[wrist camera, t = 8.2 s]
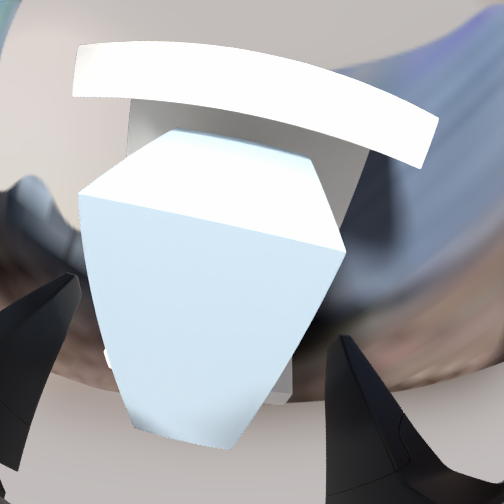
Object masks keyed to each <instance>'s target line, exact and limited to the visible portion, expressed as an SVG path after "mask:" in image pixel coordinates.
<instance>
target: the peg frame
mask: <svg viewBox="0 0 504 504" xmlns="http://www.w3.org/2000/svg"><path fill="white" fill-rule="evenodd" d="M72 97H116V98H131V106H130V115H129V126H128V138H127V155H126V158H127V157H129V156H130V155H132V154H133V153H135V152H136V151H138V150H139V149H141V148H143V147H144V146H146V145H147V144H149V143H150V142H152V141H154V140H155V139H157V138H159V137H160V136H162V135H164V134H165V133H167V132H169V131H170V130H172V129H174V128H176V127H178V128H185V129H191V130H197V131H203V132H209V133H214V134H219V135H225V136H230V137H235V138H239V139H244V140H249V141H253V142H258V143H262V144H266V145H270V146H274V147H278V148H282V149H286V150H290V151H294V152H298V153H301V154H305V155H308V156H309V157H310V159H311V162H312V164H313V166H314V169H315V171H316V174H317V176H318V178H319V181H320V183H321V186H322V188H323V191H324V193H325V196H326V198H327V201H328V203H329V206H330V208H331V211H332V214H333V216H334V219H335V222H336V224H337V227H338V230H339V229H340V227H341V224H342V222H343V219H344V217H345V214H346V212H347V209H348V207H349V204H350V202H351V199H352V197H353V194H354V192H355V189H356V186H357V184H358V181H359V178H360V176H361V173H362V170H363V168H364V165H365V162H366V159H367V157H368V154H369V151H370V149H372V150H374V151H377V152H380V153H382V154H385V155H387V156H390V157H392V158H395V159H397V160H400V161H402V162H405V163H407V164H409V165H412V166H414V167H416V168H419V169H421V167H422V164H423V162H424V159H425V157H426V154H427V151H428V149H429V146H430V143H431V141H432V138H433V135H434V132H435V129H436V126H437V123H438V120H439V118H437V117H436V116H434V115H432V114H430V113H428V112H426V111H425V110H423V109H421V108H419V107H417V106H415V105H413V104H411V103H409V102H407V101H404V100H402V99H400V98H398V97H396V96H394V95H391V94H389V93H387V92H385V91H382V90H380V89H378V88H375V87H373V86H370V85H368V84H365V83H363V82H360V81H357V80H355V79H352V78H349V77H346V76H344V75H341V74H338V73H335V72H332V71H329V70H325V69H322V68H319V67H316V66H312V65H309V64H305V63H301V62H298V61H294V60H290V59H286V58H281V57H278V56H273V55H268V54H263V53H259V52H253V51H248V50H242V49H236V48H229V47H222V46H214V45H206V44H195V43H182V42H160V41H128V42H107V43H95V44H86V45H78V49H77V55H76V62H75V70H74V79H73V89H72ZM104 355H105V358H106V361H107V363H108V366H109V368H111V365H110V361H109V358H108V355H107V352H106V348H105V350H104ZM292 394H293V392H292V357H291V358H290V360H289V362H288V363H287V365H286V367H285V368H284V370H283V372H282V373H281V375H280V377H279V378H278V380H277V382H276V383H275V385H274V386H273V388H272V390H271V391H270V393H269V394H268V396H267V398H266V399H265V401H264V402H263V404H269V405H278V406H284V405H285V403H286V402H287V401H288V399H289V398H290V397H291V395H292Z"/></svg>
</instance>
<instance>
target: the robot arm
mask: <svg viewBox="0 0 504 504" xmlns="http://www.w3.org/2000/svg"><path fill="white" fill-rule="evenodd" d="M80 299H81V289H80V284H79V280H78V277H77V276H76V275H74V274H71V273H65V274H63V275H61V276H59V277H57V278H56V279H54V280H52V281H50V282H49V283H47V284H45V285H43V286H42V287H40V288H38V289H36V290H35V291H33V292H31V293H29V294H28V295H26V296H24V297H23V298H21V299H19V300H18V301H16V302H14V303H13V304H11V305H9V306H8V307H6V308H5V309H3V310H1V311H0V463H1V464H3V465H5V466H7V467H9V468H11V469H13V470H15V471H18V469H19V465H20V461H21V457H22V453H23V450H24V446H25V443H26V439H27V436H28V433H29V429H30V426H31V422H32V420H33V417H34V413H35V411H36V408H37V405H38V402H39V399H40V397H41V394H42V391H43V389H44V386H45V384H46V381H47V379H48V376H49V374H50V372H51V369H52V367H53V364H54V362H55V360H56V358H57V355H58V353H59V351H60V349H61V346H62V344H63V342H64V340H65V338H66V336H67V333H68V331H69V328H70V325H71V322H72V320H73V317H74V314H75V312H76V309H77V307H78V304H79V301H80ZM325 414H326V415H325V416H326V504H504V481H502V482H500V483H497V484H496V483H490V482H486V481H483V480H480V479H477V478H473V477H470V476H467V475H464V474H461V473H458V472H455V471H453V470H451V469H450V468H448V467H447V466H446V465H444V464H443V463H442V462H441V460H440V459H439V458H438V457H437V455H436V454H435V453H434V452H433V451H432V449H431V448H430V447H429V446H428V444H426V442H425V441H424V439H423V438H422V437H421V436H420V434H419V433H418V432H417V430H416V429H415V428H414V426H413V425H412V423H411V422H410V421H409V419H408V418H407V416H406V415H405V413H403V410H402V409H401V407H400V406H399V405H398V403H397V402H396V400H395V399H394V397H393V396H392V394H391V393H390V391H389V390H388V389H387V387H386V386H385V384H384V383H383V381H382V380H381V378H380V377H379V376H378V374H377V373H376V371H375V370H374V369H373V367H372V366H371V364H370V363H369V361H368V360H367V359H366V357H365V356H364V354H363V353H362V352H361V350H360V349H359V347H358V346H357V345H356V343H355V342H354V340H353V339H352V338H351V337H350V336H349V335H343V334H339V335H337V336H336V338H335V339H334V341H333V342H332V344H331V345H330V347H329V348H328V351H327V363H326V380H325ZM5 493H6V492H5V490H4V488H3V485H2V483H1V480H0V504H10V503H9V502H7V501H6V500H5V499H4V496H5Z"/></svg>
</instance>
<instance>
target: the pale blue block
mask: <svg viewBox="0 0 504 504" xmlns="http://www.w3.org/2000/svg"><path fill="white" fill-rule="evenodd" d="M78 205H79V216H80V226H81V234H82V242H83V249H84V255H85V262H86V267H87V273H88V278H89V284H90V289H91V293H92V298H93V303H94V307H95V311H96V315H97V319H98V323H99V327H100V331H101V334H102V338H103V342H104V345H105V348H106V352H107V355H108V358H109V361H110V365H111V368H112V371H113V374H114V377H115V379H116V382H117V385H118V388H119V391H120V393H121V396H122V399H123V401H124V404H125V406H126V409H127V411H128V414H129V416H130V419H131V421H132V423H133V425H134V428H137V429H139V430H143V431H146V432H150V433H153V434H157V435H160V436H164V437H168V438H172V439H176V440H180V441H185V442H189V443H194V444H199V445H204V446H209V447H215V448H221V449H228V450H231V449H232V448H233V446H234V445H235V444H236V442H237V441H238V439H239V438H240V437H241V435H242V434H243V432H244V431H245V429H246V428H247V426H248V425H249V423H250V422H251V420H252V419H253V417H254V416H255V414H256V413H257V411H258V410H259V408H260V407H261V405H262V404H263V402H264V401H265V399H266V398H267V396H268V394H269V393H270V391H271V390H272V388H273V386H274V385H275V383H276V382H277V380H278V378H279V377H280V375H281V373H282V372H283V370H284V368H285V367H286V365H287V363H288V362H289V360H290V358H291V357H292V355H293V353H294V351H295V350H296V348H297V346H298V345H299V343H300V341H301V339H302V337H303V336H304V334H305V332H306V330H307V329H308V327H309V325H310V323H311V321H312V319H313V318H314V316H315V314H316V312H317V310H318V308H319V306H320V304H321V303H322V301H323V299H324V297H325V295H326V293H327V291H328V289H329V287H330V285H331V283H332V281H333V279H334V277H335V275H336V273H337V271H338V269H339V267H340V265H341V263H342V261H343V259H344V257H345V254H346V249H345V247H344V244H343V241H342V238H341V235H340V233H339V230H338V227H337V224H336V222H335V219H334V216H333V214H332V211H331V208H330V206H329V203H328V201H327V198H326V196H325V193H324V191H323V188H322V186H321V183H320V181H319V178H318V176H317V174H316V171H315V169H314V166H313V164H312V162H311V159H310V157H309V156H308V155H305V154H301V153H298V152H294V151H290V150H286V149H282V148H278V147H274V146H270V145H266V144H262V143H258V142H253V141H249V140H244V139H239V138H235V137H230V136H225V135H219V134H214V133H209V132H203V131H197V130H191V129H185V128H178V127H176V128H174V129H172V130H170V131H169V132H167V133H165V134H164V135H162V136H160V137H159V138H157V139H155V140H154V141H152V142H150V143H149V144H147V145H146V146H144V147H143V148H141V149H139V150H138V151H136V152H135V153H133V154H132V155H130V156H129V157H127V158H126V159H125V160H123V161H121V162H120V163H118V164H117V165H116V166H114V167H113V168H111V169H110V170H108V171H107V172H106V173H104V174H103V175H101V176H100V177H99V178H97V179H96V180H95V181H93V182H92V183H91V184H89V185H88V186H87V187H85V188H84V189H83V190H82V191H81V192H79V193H78Z"/></svg>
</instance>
